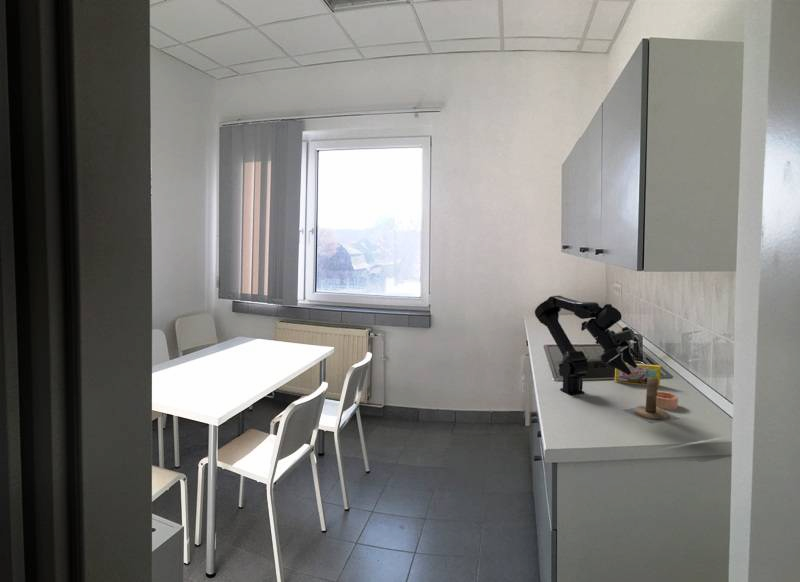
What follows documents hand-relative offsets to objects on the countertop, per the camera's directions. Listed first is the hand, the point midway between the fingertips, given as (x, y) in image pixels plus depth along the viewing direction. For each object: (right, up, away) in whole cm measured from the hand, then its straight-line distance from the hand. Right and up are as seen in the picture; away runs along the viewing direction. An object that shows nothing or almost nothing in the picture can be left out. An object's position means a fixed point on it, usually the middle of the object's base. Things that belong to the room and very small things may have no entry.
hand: (633, 370), depth 156 cm
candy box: (+16, -11, +29) cm, 35 cm away
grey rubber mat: (+4, -14, -4) cm, 15 cm away
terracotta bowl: (+12, -13, +4) cm, 19 cm away
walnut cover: (+4, -14, -4) cm, 15 cm away
